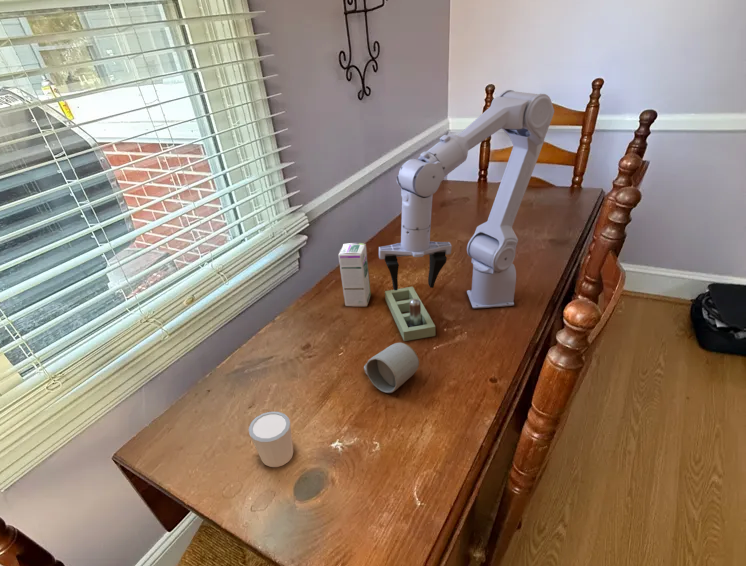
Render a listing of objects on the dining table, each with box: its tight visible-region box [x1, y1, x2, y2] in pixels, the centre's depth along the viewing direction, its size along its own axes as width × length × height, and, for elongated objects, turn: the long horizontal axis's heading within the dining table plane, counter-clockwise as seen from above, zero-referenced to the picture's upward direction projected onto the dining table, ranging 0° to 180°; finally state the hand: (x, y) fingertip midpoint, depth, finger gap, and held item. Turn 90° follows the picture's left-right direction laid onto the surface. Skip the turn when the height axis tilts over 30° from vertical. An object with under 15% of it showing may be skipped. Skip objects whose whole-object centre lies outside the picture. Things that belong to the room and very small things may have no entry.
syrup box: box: [337, 242, 372, 307], centre depth 115 cm, size 6×6×14 cm
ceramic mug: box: [363, 341, 420, 394], centre depth 92 cm, size 11×8×8 cm
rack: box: [384, 286, 437, 342], centre depth 111 cm, size 7×18×2 cm, turn 8°
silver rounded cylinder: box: [407, 299, 423, 328], centre depth 105 cm, size 4×4×8 cm
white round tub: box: [248, 411, 294, 468], centre depth 80 cm, size 7×7×7 cm
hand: (413, 286), depth 101 cm, fingers open, 7 cm apart
